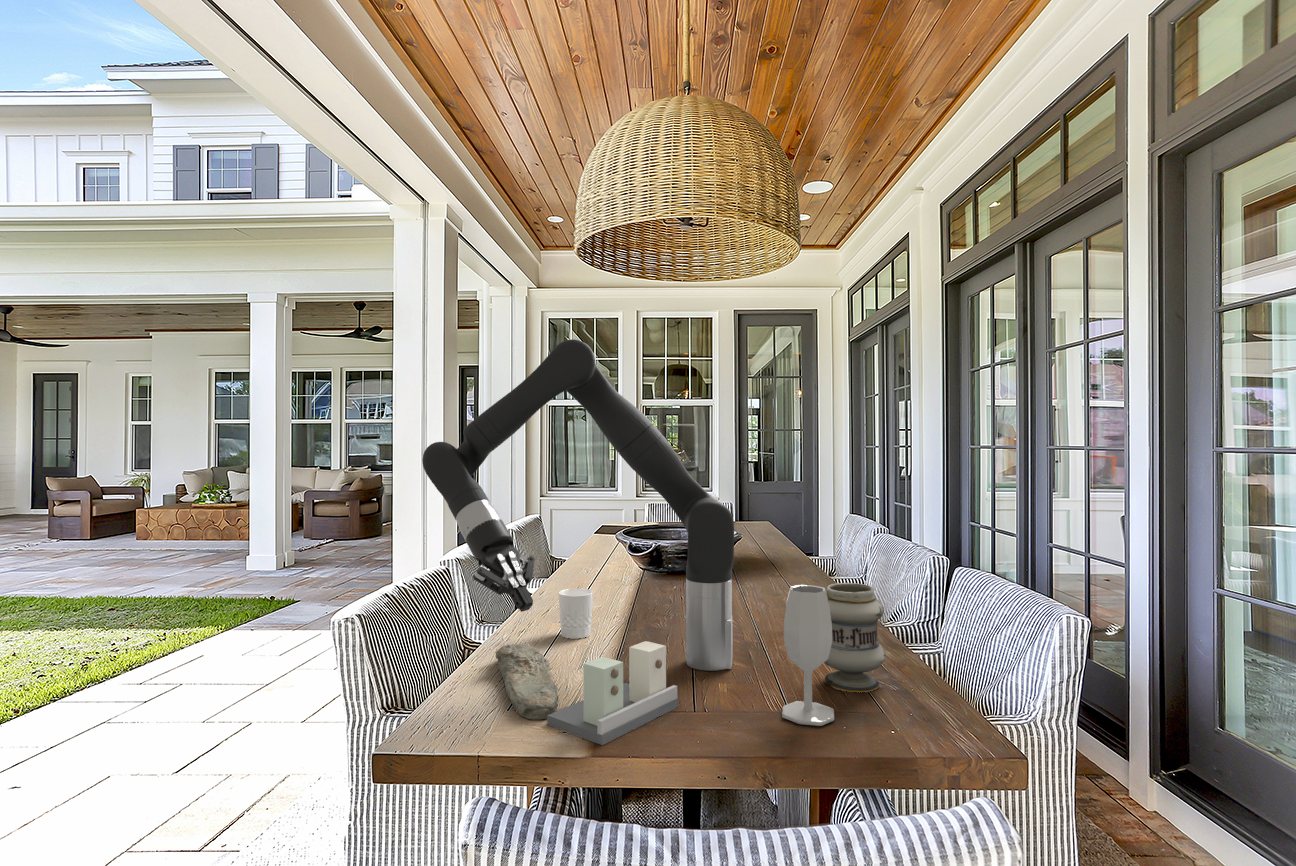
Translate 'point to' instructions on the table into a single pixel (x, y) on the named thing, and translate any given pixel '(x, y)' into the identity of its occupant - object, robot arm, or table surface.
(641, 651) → the white block
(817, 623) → the wineglass
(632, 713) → the tile board
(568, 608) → the white cup
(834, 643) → the apothecary jar
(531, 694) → the elongated rock
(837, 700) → the table surface
